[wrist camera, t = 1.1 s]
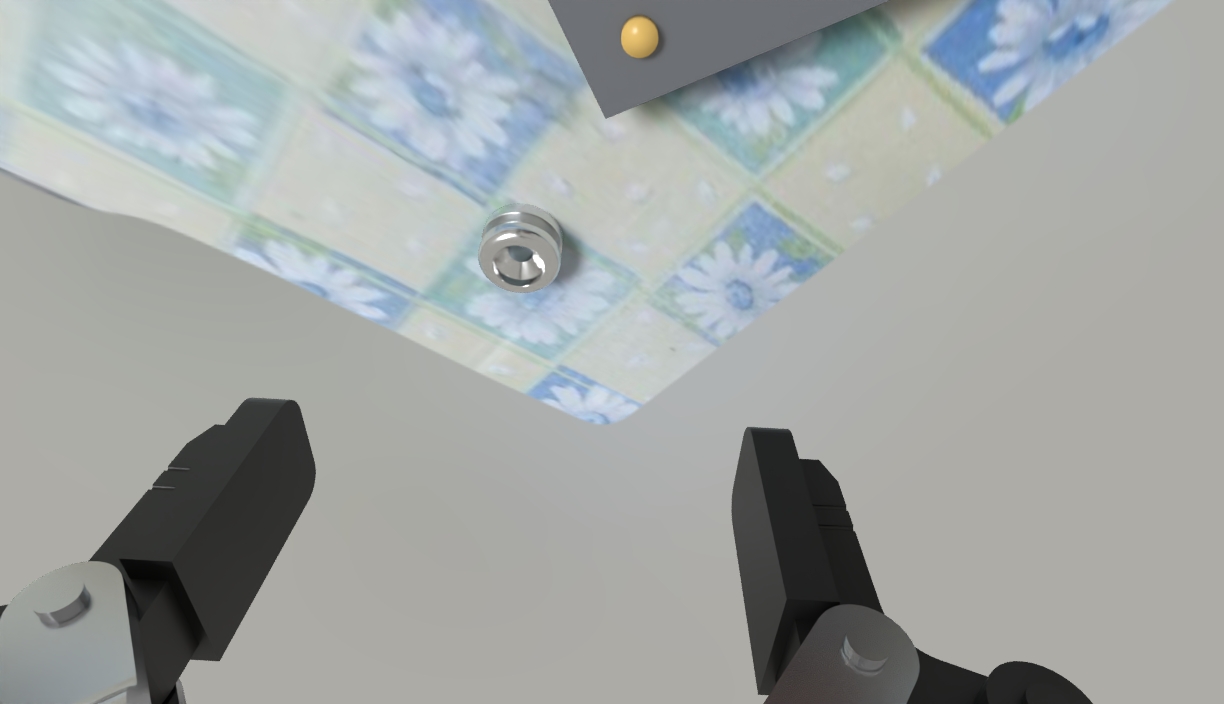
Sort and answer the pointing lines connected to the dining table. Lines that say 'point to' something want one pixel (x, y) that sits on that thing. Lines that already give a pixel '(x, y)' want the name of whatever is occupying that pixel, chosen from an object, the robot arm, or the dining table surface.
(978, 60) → the dining table surface
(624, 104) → the socket block
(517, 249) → the metal grooved wheel
